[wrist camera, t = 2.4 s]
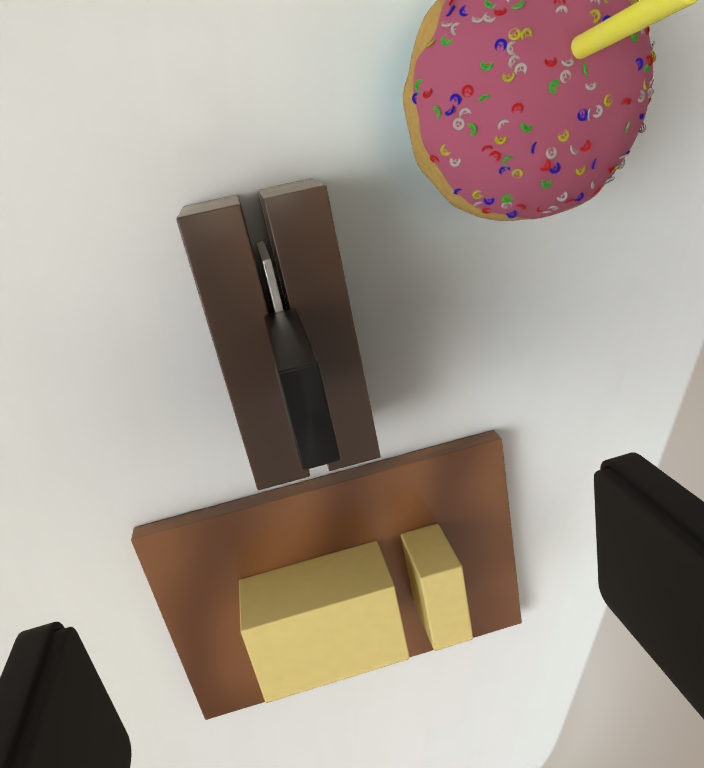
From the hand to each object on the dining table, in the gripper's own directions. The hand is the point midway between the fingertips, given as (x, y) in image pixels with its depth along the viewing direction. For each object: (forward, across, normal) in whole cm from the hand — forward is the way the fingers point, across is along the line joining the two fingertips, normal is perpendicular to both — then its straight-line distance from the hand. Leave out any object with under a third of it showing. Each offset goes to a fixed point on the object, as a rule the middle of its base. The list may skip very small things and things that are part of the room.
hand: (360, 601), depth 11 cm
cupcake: (+18, -10, -7) cm, 22 cm away
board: (+18, 0, +14) cm, 22 cm away
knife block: (+18, 0, 0) cm, 18 cm away
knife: (+18, 0, 0) cm, 18 cm away
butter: (+16, +1, +14) cm, 22 cm away
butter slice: (+16, -4, +14) cm, 22 cm away
